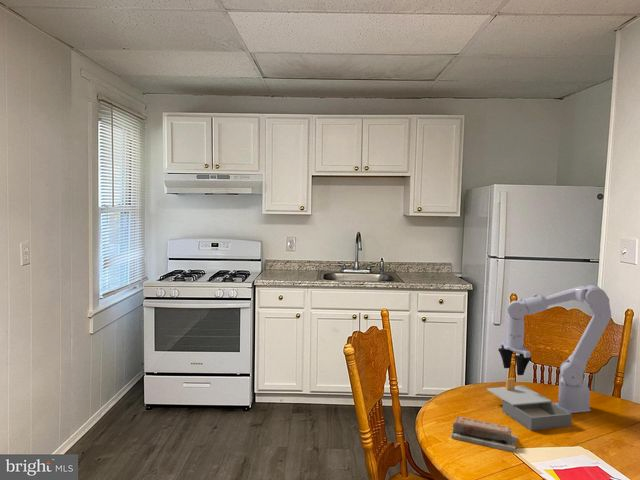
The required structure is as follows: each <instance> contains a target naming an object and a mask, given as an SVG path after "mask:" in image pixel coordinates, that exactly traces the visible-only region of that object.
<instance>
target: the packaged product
mask: <svg viewBox="0 0 640 480" xmlns="http://www.w3.org/2000/svg"><path fill="white" fill-rule="evenodd" d="M450 438H451V439H454V440H457V441H458V440H459V441H462V442H467V443H470V442H471V444H475V445H478V446H484V447H488V448H492V449H497V450H502V451H506V452H507V451H508V452H512V453H515V451H516V447H517V443H518V442H517V441H518V435H516V434H512V428H511V427H510V426H509V427H508V426H505V425H502V424H501V425H500V424H496V423H492V422H487V421H483V420H479V419H473V418H468V417H464V416H457V417H456V418H455V420H454V422H453V424H452V432H451V433H450Z"/></svg>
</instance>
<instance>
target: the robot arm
mask: <svg viewBox="0 0 640 480" xmlns="http://www.w3.org/2000/svg"><path fill="white" fill-rule="evenodd" d="M584 300H585V302H586V303H587V304H588V305H589V307H590V310H591V312H592V317H591V318H590V321H589V322H588V324H587V326H586V328H585V330H584V332H583V333H582V335H581V337H580V339H579V341H578V342H577V344H576V347H575V348H574V350H573V352H572V353H571V354H570V355H569V356H568V358H567V359H566V360H565V361H563V362H562V363H561V365H560V366H559V371H560V373H561V378H560V379H559V380H558V383H559V384H558V396H557V398H558V401H557V402H551V403H552V404H554V405H556V406H558V407H560V408H561V409H563V410H565V411H567V412H569V413H571V414H576V413H587V412H591V411H592V409H591V408H590V402H591V401H590V399H591V398H590V397H591V392H590V388H589V386H588V384H586V383H585V382H584V373H585V371H586V369H587V363H588V362H589V359H590V357H591V356H592V354H593V352H594V350H595V348H596V346H597V344H598V343H599V341H600V339H601V337H602V336H603V333H604V332H605V330H606V329H607V326H608V324H609V323H610V321H611V319H612V310H611V305H610V298H609V296H608V295H607V293H606V292H605V291H604V289H602V288H601V287H600V286H598V285H596V284H593V283H591V284H586V285H579V286H575V287H573V288H570V289H566V290H563V291H560V292H556V293H553V294H550V295H547V296H544V295H543V294H537V293H535V294H532V296H530V297H526V298H522V297H521V298H519V299H518V300H513V301H510V302H509V303H508V306H507V313H508V316H507V321H506V322H507V323H506V340H500V341H499V347H500V348H498V352H499V354H500V356H501V357H500V358H501V360H502V365H503V368H504V369H510V368H511V365H512V364H511V363H512V357H513V356H514V359H515V363H516V374H517V376H524V374H525V371H526V369H527V366H528V365H529V362H530V361H531V360H532V357H531V353H532V352H531V351H530V350H528V349H526V347H524V339H525V322H524V321H525V320H524V319H525V318H524V317H525V316H526V315H528V316H530V315H534V314H536V313H537V314H538V313H541V312H544V311H547V310H548V308H549V306H552V305H556V304H561V303H566V302H570V301H576V302H581V303H584ZM514 353H515V354H518V355H513V354H514Z"/></svg>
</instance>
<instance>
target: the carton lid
mask: <svg viewBox="0 0 640 480" xmlns="http://www.w3.org/2000/svg"><path fill="white" fill-rule="evenodd" d="M515 384H516V378H513V377H509V378H505V386H499V387H487V388H486V391H488V392H490V393H491V394H493V395H495V396H496V397H498V398H499V399H501V400H502V401H503V400H504V401H506V402H508V403H509V404H511V405H512V406H516V405H527V404H538V403H548V402H550V403H553V401H552V399H550V398H548V397H546V396H544V395H543V394H541V393H538V392H536V391H535V390H533V389H531V388H529V387H527V386H525V385H515Z"/></svg>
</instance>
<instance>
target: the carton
mask: <svg viewBox="0 0 640 480" xmlns="http://www.w3.org/2000/svg"><path fill="white" fill-rule="evenodd" d="M552 403H553V402H548V403H538V404H527V405H516V406H512V405H511V404H509V403H508V402H506V401H504V400H503V399H502V411H501V412H502V413H503V414H505V415H506V416H508V417H510V418H511V419H513V420H514V421H516V422H517V423H519V424H520V425H522V426H523V427H524V428H526V429H528V430H529V431H531V432H532V431H539V430H540V431H542V430H550V429H559V428H567V427H568V428H569V427H572V418H573V417H572V415H573V413H569V412H567V411H565V410H563V409H561V408H560V407H558V406H556V405H554V404H552Z"/></svg>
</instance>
